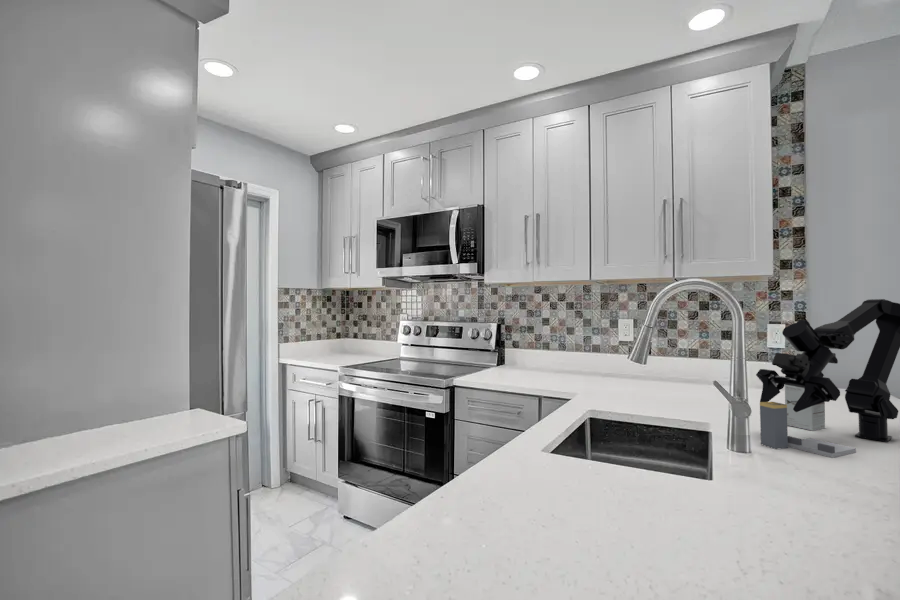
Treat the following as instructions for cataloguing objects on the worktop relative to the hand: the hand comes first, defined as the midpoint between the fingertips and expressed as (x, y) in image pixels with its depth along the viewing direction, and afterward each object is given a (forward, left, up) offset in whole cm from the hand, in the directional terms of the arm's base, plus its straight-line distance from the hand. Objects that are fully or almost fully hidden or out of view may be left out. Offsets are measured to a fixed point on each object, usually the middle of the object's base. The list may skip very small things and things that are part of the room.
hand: (777, 407), depth 114 cm
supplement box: (-29, -1, -10) cm, 31 cm away
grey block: (+1, 0, -10) cm, 10 cm away
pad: (-5, +8, -10) cm, 13 cm away
